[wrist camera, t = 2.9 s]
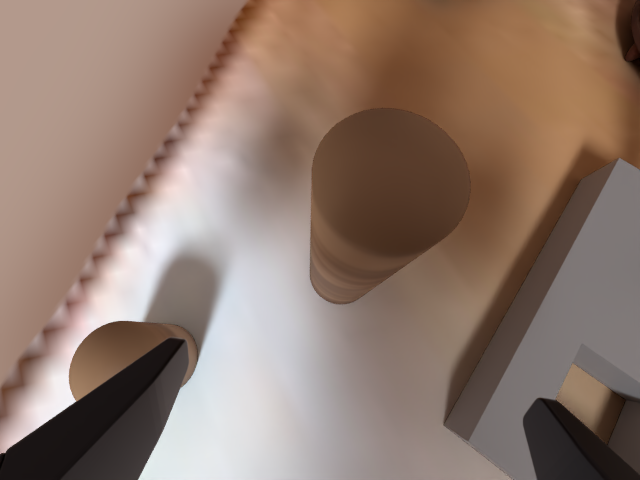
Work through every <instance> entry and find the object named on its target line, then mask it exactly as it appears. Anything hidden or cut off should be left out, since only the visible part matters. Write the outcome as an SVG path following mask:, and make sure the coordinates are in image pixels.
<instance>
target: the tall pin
mask: <svg viewBox="0 0 640 480" xmlns="http://www.w3.org/2000/svg"><path fill="white" fill-rule="evenodd" d="M469 197H470V175H469V170H468V167H467V163H466V161H465V159H464V156H463V154H462V153H461V151H460V149H459V147H458V146H457V145H456V143H455V142H454V141H453V139H452V138H451V137H450V136H449V135H448V134H447V133H446V132H445V131H444V130H442V129H441V128H440V127H439V126H438V125H436V124H434V123H433V122H431V121H430V120H428V119H426V118H424V117H422V116H420V115H417V114H414V113H412V112H408V111H404V110H399V109H391V108H380V109H371V110H366V111H362V112H359V113H356V114H353V115H351V116H349V117H347V118H345V119H344V120H342V121H340V122H339V123H337V124H336V125H335V126H334V127H333V128H332V129H331V130H330V131H329V132H328V133H327V134H326V135H325V136H324V138H323V139H322V141H321V142H320V144H319V146H318V148H317V150H316V153H315V156H314V160H313V165H312V187H311V238H310V280H311V283H312V286H313V288H314V290H315V291H316V292H317V294H318V295H319V296H320V297H322V298H323V299H324V300H326V301H328V302H331V303H334V304H348V303H351V302H354V301H356V300H357V299H359V298H360V297H362V296H363V295H365V294H366V293H367V292H369V291H370V290H372V289H373V288H374V287H376V286H377V285H379V284H380V283H382V282H383V281H384V280H386V279H387V278H389V277H390V276H391V275H393V274H394V273H396V272H397V271H398V270H400V269H401V268H403V267H404V266H406V265H407V264H408V263H410V262H411V261H413V260H414V259H415V258H417V257H418V256H420V255H421V254H423V253H424V252H425V251H427V250H428V249H430V248H431V247H432V246H434V245H435V244H437V243H438V242H440V241H441V240H442V239H444V238H445V237H446V236H447V235H449V234H450V233H451V232H452V231H453V230H454V229H455V227H456V226H457V225H458V224H459V222H460V221H461V219H462V217H463V215H464V213H465V211H466V209H467V205H468V202H469Z"/></svg>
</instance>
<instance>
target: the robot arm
mask: <svg viewBox="0 0 640 480" xmlns="http://www.w3.org/2000/svg"><path fill="white" fill-rule="evenodd" d="M188 366H189V354H188V343H187V340H186V339H183V338H177V337H169V338H167V339H166V340H164V341H163V342H161V343H160V344H159V345H157V346H156V347H154V348H153V349H151V350H150V351H148V352H147V353H146V354H144V355H143V356H141V357H140V358H138V359H137V360H136V361H134V362H133V363H131V364H130V365H128V366H127V367H125V368H124V369H123V370H121V371H120V372H118V373H117V374H115V375H114V376H112V377H111V378H110V379H108V380H107V381H105V382H104V383H102V384H101V385H99V386H98V387H97V388H95V389H94V390H92V391H91V392H89V393H88V394H87V395H85V396H84V397H82V398H81V399H79V400H78V401H76V402H75V403H74V404H72V405H71V406H69V407H68V408H66V409H65V410H63V411H62V412H61V413H59V414H58V415H56V416H55V417H53V418H52V419H51V420H49V421H48V422H46V423H45V424H43V425H42V426H40V427H39V428H38V429H36V430H35V431H33V432H32V433H30V434H29V435H27V436H26V437H25V438H23V439H22V440H20V441H19V442H17V443H16V444H14V445H13V446H12V447H10V448H9V449H8V450H7V451H6V453H1V454H0V480H138V479H139V477H140V475H141V473H142V471H143V469H144V467H145V465H146V463H147V461H148V459H149V457H150V455H151V453H152V451H153V450H154V448H155V446H156V444H157V442H158V440H159V438H160V436H161V434H162V432H163V429H164V427H165V425H166V422H167V420H168V417H169V415H170V412H171V410H172V407H173V405H174V402H175V400H176V397H177V395H178V392H179V390H180V387H181V385H182V382H183V380H184V377H185V375H186V372H187V369H188ZM523 428H524V432H525V436H526V440H527V443H528V447H529V451H530V455H531V459H532V463H533V467H534V471H535V474H536V478H537V480H640V474H639V473H638V472H637V471H636V470H634V469H633V468H632V467H631V466H630V465H629V464H628V463H627V462H625V461H624V460H623V459H622V458H621V457H620V456H619V455H618V454H617V453H615V452H614V451H613V450H612V449H611V448H610V447H609V446H608V445H606V444H605V443H604V442H603V441H602V440H601V439H600V438H599V437H598V436H596V435H595V434H594V433H593V432H592V431H591V430H590V429H589V428H587V427H586V426H585V425H584V424H583V423H582V422H581V421H580V420H578V419H577V418H576V417H575V416H574V415H573V414H572V413H571V412H570V411H568V410H567V409H566V408H565V407H564V406H563V405H562V404H561V403H559V402H558V401H556V400H553V399H548V398H541V397H540V398H537V399H536V400H535V401H534V402H533V404H532V405H531V406H530V408H529V409H528V410H527V412H526V413H525V415H524V417H523Z"/></svg>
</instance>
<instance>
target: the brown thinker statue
mask: <svg viewBox="0 0 640 480" xmlns="http://www.w3.org/2000/svg"><path fill="white" fill-rule="evenodd" d="M631 27H632V34H633V38H634V41H635V44H634V45H633V46H632V47H631V48H630V49H629V51H628V53H627V54H626V56H625V60H626V61H632V60H635V59H637V58H639V57H640V0H637V2H636V4H635V6H634V9H633V12H632V17H631Z"/></svg>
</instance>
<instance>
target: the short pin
mask: <svg viewBox="0 0 640 480" xmlns="http://www.w3.org/2000/svg"><path fill="white" fill-rule="evenodd" d="M169 337H177V338H183V339H186V340H187V343H188V354H189V366H188V369H187V372H186V375H185V377H184V380H183V382H182V385H181V387H182V386H183V385H185V384H186V383H187V381H188V380H189V379H190V378H191V376H192V374H193V372H194V370H195V368H196V364H197V359H198V351H197V346H196V343H195V340H194V339H193V337H192V335H191V334H190V333H189V332H188V331H187V330H185V329H184V328H182V327H180V326H177V325H172V324H160V323H146V322H133V321H117V322H112V323H108V324H106V325H103V326H101V327H99V328H97V329H96V330H94V331H93V332H92V333H91V334H89V335H88V336H87V337H86V338H85V339H84V340H83V341H82V343H81V344H80V345H79V347H78V348H77V350H76V352H75V354H74V356H73V359H72V362H71V365H70V370H69V384H70V389H71V392H72V394H73V396H74V398H75V400H76V401H78V400H79V399H81V398H82V397H84V396H85V395H87V394H88V393H89V392H91V391H92V390H94V389H95V388H97V387H98V386H99V385H101V384H102V383H104V382H105V381H107V380H108V379H110V378H111V377H112V376H114V375H115V374H117V373H118V372H120V371H121V370H123V369H124V368H125V367H127V366H128V365H130V364H131V363H133V362H134V361H136V360H137V359H138V358H140V357H141V356H143V355H144V354H146V353H147V352H148V351H150V350H151V349H153V348H154V347H156V346H157V345H159V344H160V343H161V342H163V341H164V340H166V339H167V338H169ZM181 387H180V388H181Z"/></svg>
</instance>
